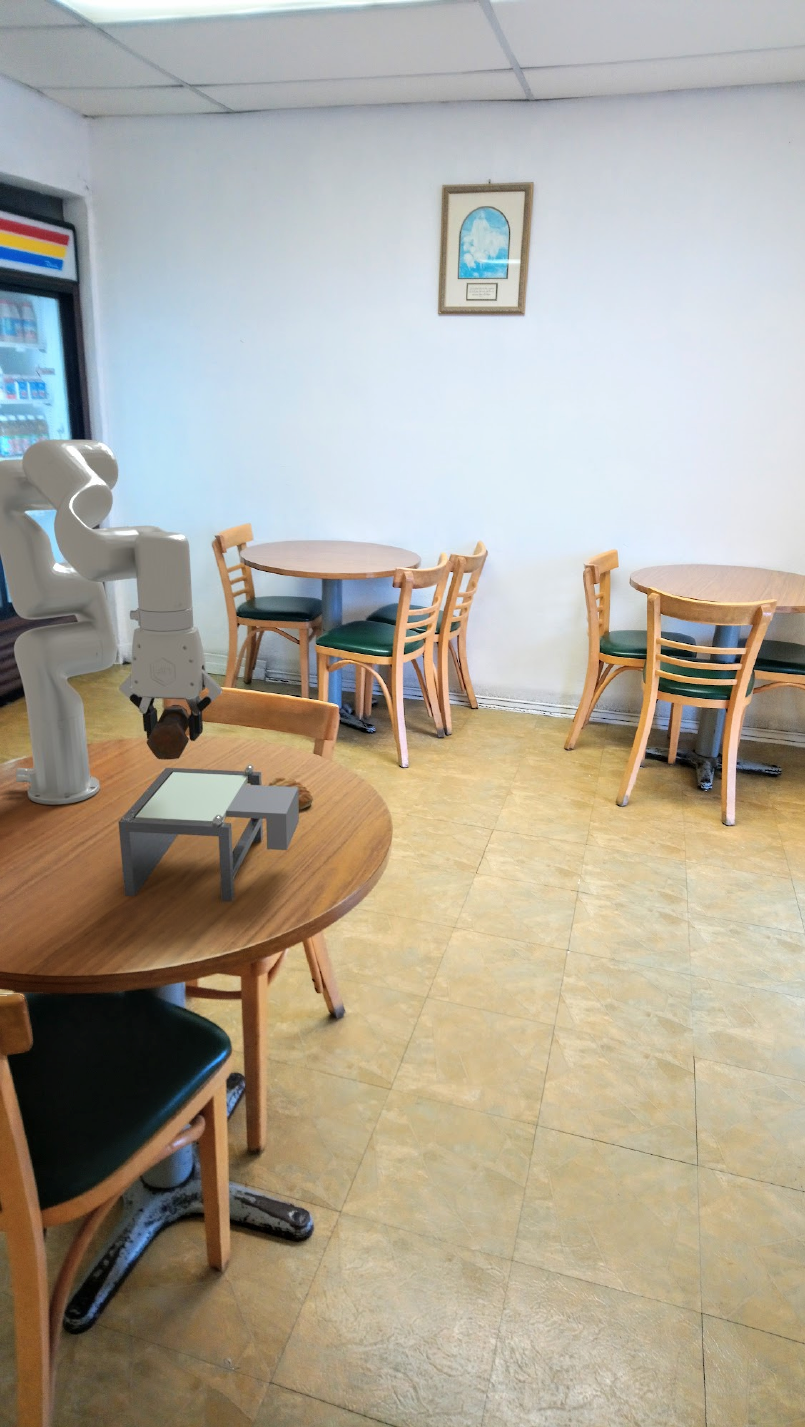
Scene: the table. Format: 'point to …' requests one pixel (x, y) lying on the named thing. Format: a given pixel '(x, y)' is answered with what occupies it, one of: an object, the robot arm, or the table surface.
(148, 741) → the bolt
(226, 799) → the trapdoor
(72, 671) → the robot arm
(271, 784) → the pastry
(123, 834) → the frame
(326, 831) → the table surface
